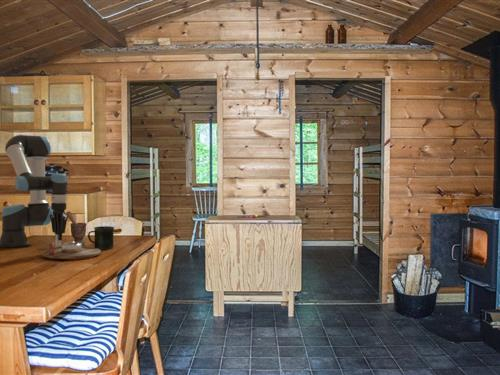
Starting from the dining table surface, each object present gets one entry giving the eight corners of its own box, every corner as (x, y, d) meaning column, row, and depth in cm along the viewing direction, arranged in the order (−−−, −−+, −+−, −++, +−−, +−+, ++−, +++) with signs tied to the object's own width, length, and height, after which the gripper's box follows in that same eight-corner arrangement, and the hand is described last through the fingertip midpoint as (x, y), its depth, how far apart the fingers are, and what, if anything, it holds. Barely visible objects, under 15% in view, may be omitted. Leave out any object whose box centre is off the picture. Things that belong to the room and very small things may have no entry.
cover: (57, 251, 233) (57, 242, 232) (74, 249, 241) (74, 239, 241) (69, 253, 227) (69, 244, 227) (86, 251, 236) (86, 241, 235)
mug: (111, 249, 251) (112, 228, 251) (85, 249, 250) (85, 228, 250) (116, 246, 262) (116, 226, 262) (90, 246, 261) (90, 226, 260)
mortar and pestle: (63, 246, 259) (63, 212, 258) (66, 244, 267) (66, 210, 266) (84, 246, 261) (84, 212, 260) (87, 243, 269) (87, 210, 269)
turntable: (31, 254, 229) (31, 240, 229) (78, 247, 253) (78, 234, 253) (65, 261, 214) (65, 246, 214) (112, 252, 238) (112, 239, 238)
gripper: (45, 201, 239) (44, 245, 241) (60, 203, 232) (59, 248, 234) (57, 201, 246) (57, 243, 247) (72, 202, 239) (72, 246, 240)
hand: (58, 246), depth 240 cm, fingers closed
